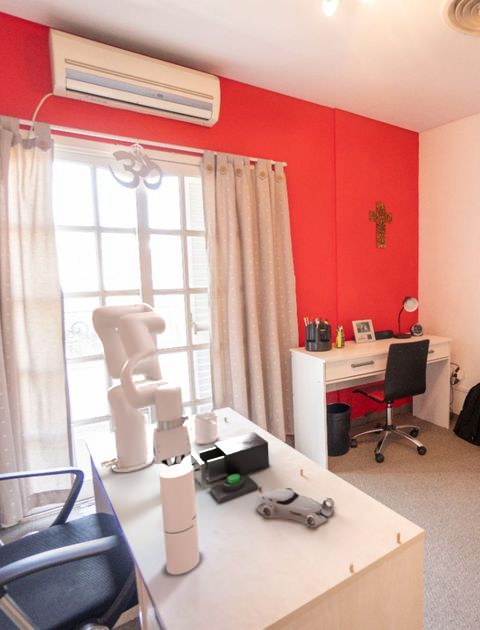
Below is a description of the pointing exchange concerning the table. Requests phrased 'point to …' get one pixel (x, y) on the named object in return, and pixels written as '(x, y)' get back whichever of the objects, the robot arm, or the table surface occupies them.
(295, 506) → the car model
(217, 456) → the drawer
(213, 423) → the mug
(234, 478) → the button
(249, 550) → the table surface
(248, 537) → the table surface
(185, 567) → the cylindrical container
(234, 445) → the cabinet
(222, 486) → the control block
